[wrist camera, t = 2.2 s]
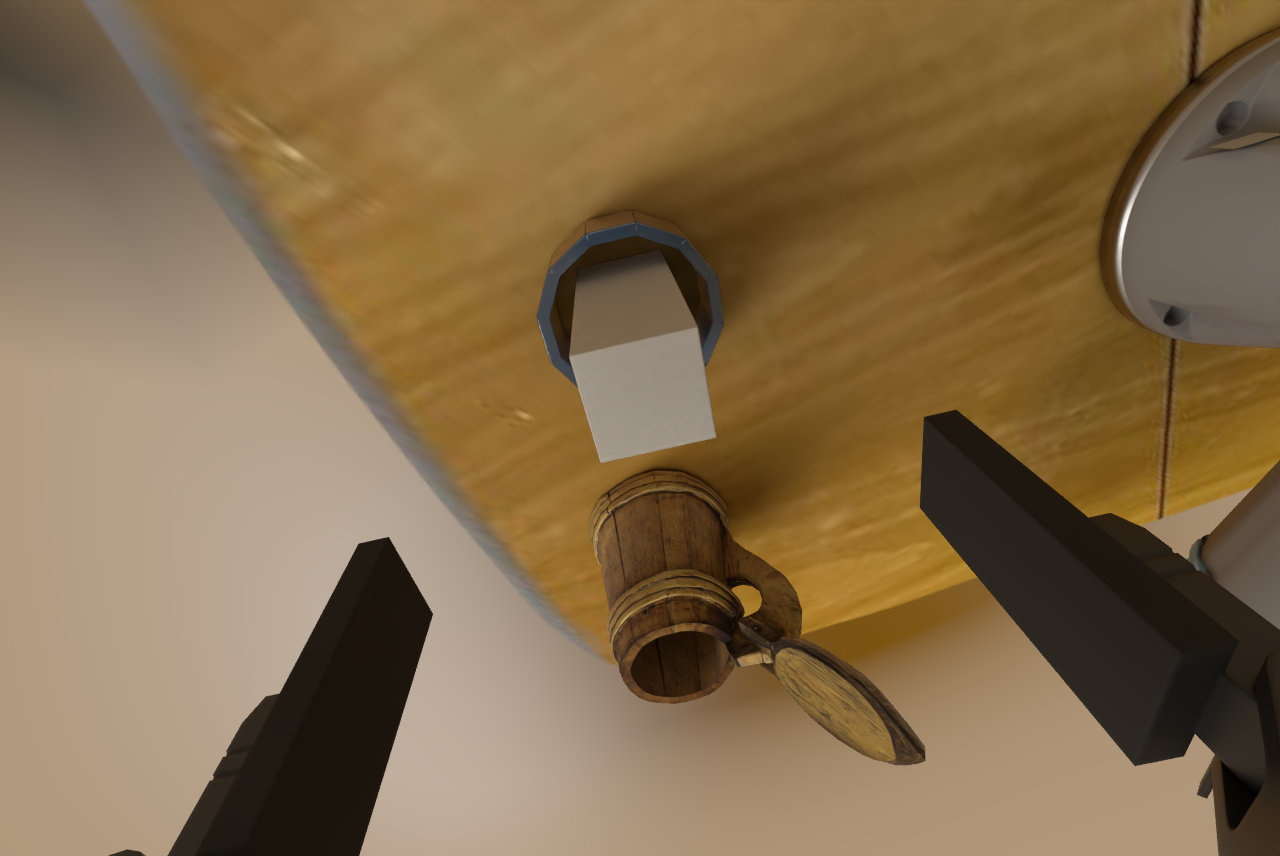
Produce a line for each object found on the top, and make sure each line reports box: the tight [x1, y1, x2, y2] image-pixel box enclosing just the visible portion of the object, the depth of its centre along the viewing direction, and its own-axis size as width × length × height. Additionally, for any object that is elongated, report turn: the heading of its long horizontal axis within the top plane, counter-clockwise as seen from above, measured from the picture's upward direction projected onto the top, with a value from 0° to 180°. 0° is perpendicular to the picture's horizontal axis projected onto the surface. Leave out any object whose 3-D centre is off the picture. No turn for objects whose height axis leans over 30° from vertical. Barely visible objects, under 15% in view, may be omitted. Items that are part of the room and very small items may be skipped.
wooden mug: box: [590, 471, 925, 765], centre depth 30 cm, size 9×14×18 cm, turn 107°
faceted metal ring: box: [537, 210, 724, 387], centre depth 29 cm, size 9×9×4 cm
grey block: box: [569, 249, 716, 463], centre depth 25 cm, size 4×4×12 cm
